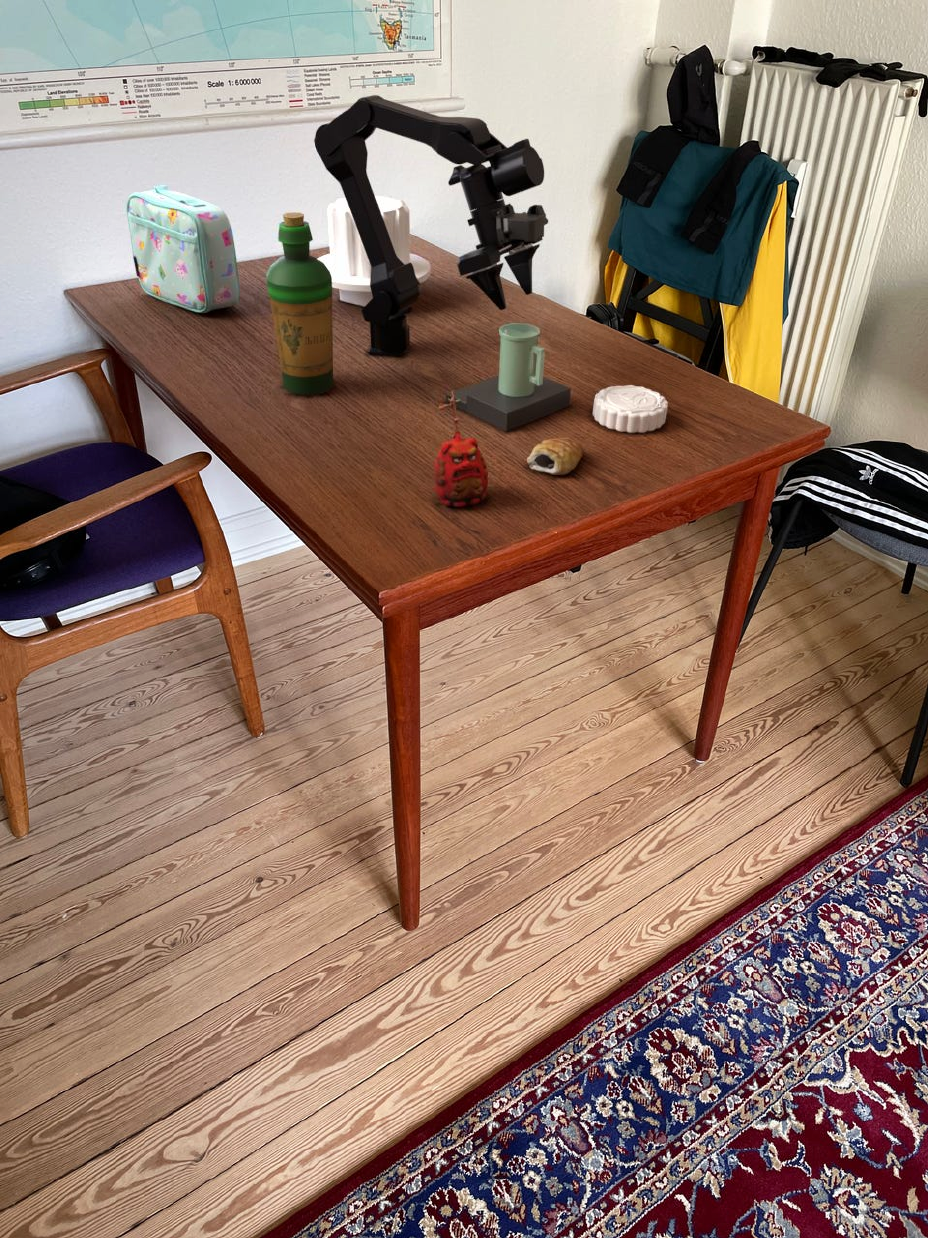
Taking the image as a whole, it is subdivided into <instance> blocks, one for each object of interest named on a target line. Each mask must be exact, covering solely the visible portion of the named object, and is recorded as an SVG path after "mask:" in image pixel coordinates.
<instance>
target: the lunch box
mask: <svg viewBox="0 0 928 1238" xmlns="http://www.w3.org/2000/svg"><path fill="white" fill-rule="evenodd" d="M126 219H127V224H128V229H129V234H130V235H129V236H130V242H131V251H132V258H133V264H134V269H135V275H136V277H138V281H139V284H140V286H141V288H142V289H143V291H144V292H145V293H146V294H147V295H149V296H151V297H153V298H155V299H158V300H159V301H162V302H164V303H166V304H170V305H172V306H176V307H179V308H182V309H185V310H188V311H191V312H194V313H198V314H207V313H210V312H211V311H215V310H219V309H224V308H231V307H234V306H235V307H236V306H237V305H238V303H239V301H240V293H241V292H240V291H241V290H240V279H239V268H238V261H237V254H236V247H235V241H234V235H233V230H232V225H231V222H230V219H229V217H228V214H226V213H225V211H224V210H223V209H222V208H220V207H219V206H217V205H216V204H215V205H214V204H212V203H210V202H207V201H205V200H202V199H199V198H196V197H193V196H190V195H188V194H185V193H182V192H178V191H175V190H170V189H168V186H167V185H165V184H164V185H154V186H153V189H149V190H148V191H141V192H133V193H131V194H130V195H129V197H128V199H127V201H126Z"/></svg>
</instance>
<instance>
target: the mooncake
mask: <svg viewBox="0 0 928 1238" xmlns="http://www.w3.org/2000/svg"><path fill="white" fill-rule="evenodd" d="M668 406H669V402H668V401H667V399H666V397H665V396H664V395H661V394H660V393H659V392H658V391H653V390H652V389H650V388H646V387H644V386H636V385H634V384H628V385H614V386H613V385H611V386H608V387H606V388H603V389H601V390H599V392H597V393H596V394H595V396H594V399H593V407H592V416H593V417H594V421H596V422H598V423H599V425H601V426H603V427H606V428H607V429H608V430H616V431H617V432H620V433H624V432H626V433H628V434H636V433H639V434H644V433H646V432H653V431H655V430H657V429H660V428H662V426H663V425H664V424H665V423H666V421H667V420H666V419H667V414H668Z"/></svg>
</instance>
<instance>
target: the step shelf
mask: <svg viewBox="0 0 928 1238" xmlns="http://www.w3.org/2000/svg"><path fill="white" fill-rule="evenodd" d="M535 376H536V373H535ZM498 379H499V374H497V375H495V376H492V377H489V378H487V379H483V380H481V381H478V382H476V383H473V384H470V385H467V386H464V387H461V388H459V389H456V390H452V391H453V394H454V400H455V401H457V400H460V399H461V401H459V402H456V409H459V410H460V411H463V412H465V413H468V414H469V415H471V416H473V417H474V418H475V417H476V418H477V419H479V420H481V421H483V422H485V423H488V424H489V425H492V426H494V427H496V428H498V429H500V430H502V431H504V432H509V431H512V430H514V429H517V428H519V427H521V426H524V425H526V424H529V423H531V422H534V421H535V420H536V421H537V420H538V419H542V418H543V417H546V416H549V415H551V414H553V413H556V412H558V411H561V410H563V409H565V408H569V407H570V404H571V403H570V402H571V394H572V393H571V392H572V387H569V386H567V385H564V384H563V383H559V382H557V381H555V380H553V379H550V378H548V377H546V376H543V384H542V385H539V386H538V385H536V384H535V387H534V392H533V393H532V394H531V395H528V396H524V397H511V396H507V395H504V394H502V393H500V392H499V390H498ZM445 397H446V398H445V402H446V404H451V402H450V401H449V400H448V399H450V400H451V398H452V394H451V393H450V392H448V393H446V394H445Z"/></svg>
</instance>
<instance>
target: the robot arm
mask: <svg viewBox="0 0 928 1238" xmlns="http://www.w3.org/2000/svg"><path fill="white" fill-rule="evenodd" d="M376 129H378V130H382V131H385V132H387V133H391V134H394V135H397V136H400V137H403V138H406V139H409V140H412V141H415V142H418V143H421V144H425V145H426V146H428V147H430V148H431V149H432V150H433V151H434V152H435V153H436V154H437V155H438V156H440V157H442V158H443V159H445V160H447V161H449V162H451V163H452V164H455V165H456V166H454V167H453V170H452V174H451V176H450V177H449V180H448V182H447V183H448V186H454V185H456V184H461V185H460V186H461V187H462V191H463V194H464V197H465V201H466V203H467V207H468V211H469V213H470V216H471V218H469V219H467V221H466V222H467V224H468V226H469V227H471V226H474V229H475V233H476V235H477V238H478V241H479V244H477V245H475V249H474V250H472V251H468V252H467V253H464V254H462V255H461V256H459V257H458V259H457V263H456V266H457V269H458V272H459V275H460V276H461V277H462V276H465V278H466V280H470V281H471V282H473V283H474V284H475V285H476V287H478V288H479V289H480V290H481V291H482V292H483V293H484V295H486V296H487V298H489V300H490V301H491V302H492V303H493V304H494V305H495V306H496V307H497V308H498V310H499V311H503V310H506V309H507V303H506V302H507V301H506V297H505V294H504V288H503V285H502V280H501V272H502V270H503V267H504V262H501V256H502V255H505V254H507V255H505V256H503V259H504V260H505V262H506V264H507V265H508V267H509V269H510V270H511V273H512V274H513V276H514V278H515V280H516V281H517V283H518V284H519V287H520V288H521V290H522V291H523V292H524V294H525V295H526V296H529V295H532V293H533V258H534V256H535V255H536V252H537V250H538V249H539V248H540V246H541V244H540V243H539V242H541V241H543V239H544V237H545V226H546V225H548V224H549V219H548V218H547V214H546V211H545V209H544V207H543V205H542V204H533V205H530V206H529V207H528V209H527V211H523V212H516V211H515V207H514V205H512V204H511V203H507V204H506V202H505V198H504V196H506V197H511V196H515V195H517V194H520V193H523V192H525V191H528V190H531V189H533V188H536V187H538V186H541V185H542V184H543V183H544V181H545V166H544V161H543V159H542V158H541V157H540V155H539V153H538V152H537V150H536V149H535V148H534V147H533V146H532V145H531V143H530V139H529V138H524V139H521V140H519V141H517V142H515V143H514V144H512V145H511V146H508V147H507V146H506V145H505V144H504V143H502V142H501V141H500V140H499V139H498V138H497V137H496V136H495V135H494V134H492V133H491V132H490V130H489V127H488V124H487V123H486V122H485V121H484V120H483V119H481V118H478V117H468V116H440V115H436V114H434V113H430V112H426V111H423V110H420V109H417V108H413V107H410V106H407V105H404V104H401V103H398V102H394V101H392V100H388V99H385V98H383V97H382V96H380V95H379V94H372V95H368V96H363V97H360V98H358V99H357V100H356V101H355V102H354V103H353V104H352V105H351V106H350V107H349V108H348V109H346V110H345V111H343V112H342V113H340V114H339V115H338V116H337V117H335V118H333V119H332V120H330V122H327V123H323V124H321V125H320V126H319V127H318V128H317V129H316V131H315V135H314V138H313V145H314V148H315V151H316V153H317V155H318V157H319V159H320V161H321V162H322V164H323V166H324V168H325V170H326V171H327V172H328V173H329V174H330V175H331V176H332V177H333V178H334V179H335V180H336V181H337V182H338V183H339V185H340V188H341V190H342V193H343V195H344V198H346V201H347V203H348V206H349V209H350V211H351V214H352V217H353V219H354V222H355V225H356V227H357V230H358V233H359V235H360V238H361V241H362V243H363V246H364V249H365V251H366V254H367V257H368V259H369V262H370V265H371V277H370V288H371V292H372V296H373V298H372V300H371V301H370V302H369V303H368V304H367V305H366V306H365V307H364V306H363V308H361V313H362V317H363V320H364V322H367V323H369V332H370V333H369V335H370V347H369V349H368V351H367V352H368V354H370V355H379V356H390V357H398V358H399V357H400V358H401V357H403V355H404V354H405V352H406V351H407V350H408V348H409V347H410V346H411V342H410V341H411V338H410V337H411V336H410V333H411V331H410V324H409V323H407V315H408V314H411V313H412V310H413V307H414V306H415V305H416V303H417V302H418V300H419V297H420V288H419V286H420V285H421V283H420V282H419V281H418V280H417V278H416V276H415V272H414V267H413V265H412V263H408V264H404V263H403V262H402V261H401V260H400V259H399V258H398V257H397V255H396V253H395V250H394V247H393V245H392V242H391V239H390V236H389V234H388V231H387V228H386V225H385V223H384V220H383V217H382V214H381V212H380V209H379V206H378V203H377V201H376V198H375V196H376V195H375V193H374V189H373V187H372V184H371V182H370V179H369V176H368V172H367V170H368V154H369V153H368V148H367V144H366V140H368V139H369V138H370V137H371V136H372V135H373V134H374V133H375V131H376ZM487 162H489V165H490V166H487V167H486V166H485V165H484V164H485V163H487ZM466 163H467V164H470V166H467V167H465V166H463V165H464V164H466ZM537 243H538V244H537ZM500 262H501V263H500Z"/></svg>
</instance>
